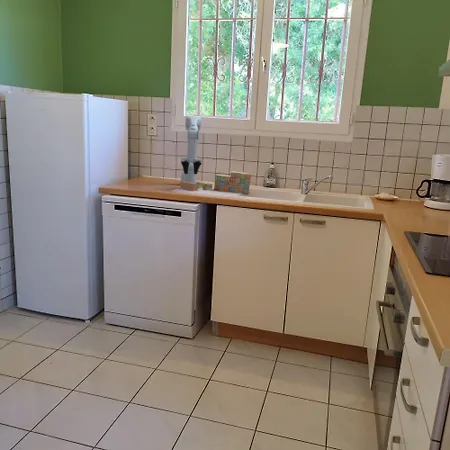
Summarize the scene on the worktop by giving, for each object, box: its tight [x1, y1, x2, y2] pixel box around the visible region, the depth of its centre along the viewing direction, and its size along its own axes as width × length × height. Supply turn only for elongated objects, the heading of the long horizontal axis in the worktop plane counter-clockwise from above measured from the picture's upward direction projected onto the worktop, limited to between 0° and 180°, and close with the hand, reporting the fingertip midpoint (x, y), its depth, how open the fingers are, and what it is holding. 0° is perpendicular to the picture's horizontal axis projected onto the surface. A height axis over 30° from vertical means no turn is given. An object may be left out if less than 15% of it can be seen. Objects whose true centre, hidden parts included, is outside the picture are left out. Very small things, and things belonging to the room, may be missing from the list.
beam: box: [179, 180, 199, 192], centre depth 258 cm, size 12×4×4 cm, turn 46°
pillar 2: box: [202, 182, 213, 191], centre depth 264 cm, size 4×4×4 cm
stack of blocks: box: [213, 170, 252, 195], centre depth 264 cm, size 21×6×12 cm, turn 85°
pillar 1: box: [195, 181, 205, 188], centre depth 269 cm, size 4×4×4 cm
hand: (190, 174), depth 256 cm, fingers open, 7 cm apart
